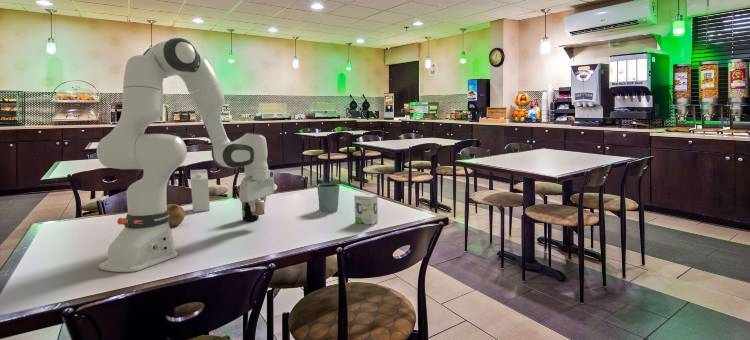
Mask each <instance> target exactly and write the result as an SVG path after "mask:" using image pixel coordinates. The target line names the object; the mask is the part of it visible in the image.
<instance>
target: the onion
mask: <svg viewBox="0 0 750 340" xmlns="http://www.w3.org/2000/svg"><path fill="white" fill-rule="evenodd" d="M167 209H168V211H169V221H168V223H169V227H176V226H179V225H180V224H182V222H183V221H184V220H185V215H186V213H185V210H184V208H183V207H182V206H181V205H179V204H176V203H170V204H167Z"/></svg>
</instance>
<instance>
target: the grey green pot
mask: <svg viewBox="0 0 750 340" xmlns="http://www.w3.org/2000/svg"><path fill="white" fill-rule="evenodd" d="M316 187H317V195H318V210H319V212H320V211H321V212H320V213H323V212H332V213H335V212H334V211H336V212H338V211H337V210H339V200H340V199H339V198H340V197H339V196H340V184H338V183H319V184H317V185H316Z"/></svg>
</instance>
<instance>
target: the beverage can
mask: <svg viewBox="0 0 750 340" xmlns="http://www.w3.org/2000/svg"><path fill="white" fill-rule="evenodd" d="M257 200H259V199H257ZM241 214H242V215H241V217H242V218H241V219H242V220H243V222H246V223H248V222H249V223H251V222H256V221H257V220H259V218H260V217H259V216H260V215H252V212H251V207H250V205H249V203H248V202H241Z"/></svg>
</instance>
